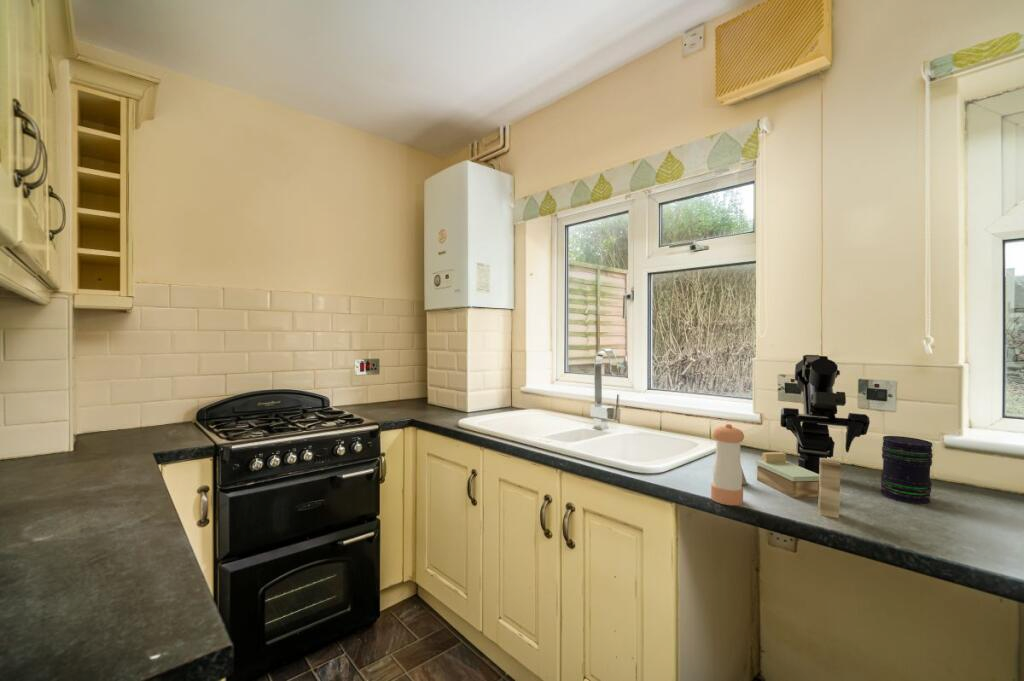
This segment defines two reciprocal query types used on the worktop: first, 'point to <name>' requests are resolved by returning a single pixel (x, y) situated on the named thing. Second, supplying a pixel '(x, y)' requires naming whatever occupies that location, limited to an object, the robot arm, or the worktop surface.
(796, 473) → the lid
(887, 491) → the storage jar
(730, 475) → the pepper shaker
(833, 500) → the brown box
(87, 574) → the worktop surface
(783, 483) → the wooden box tray
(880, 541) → the worktop surface
